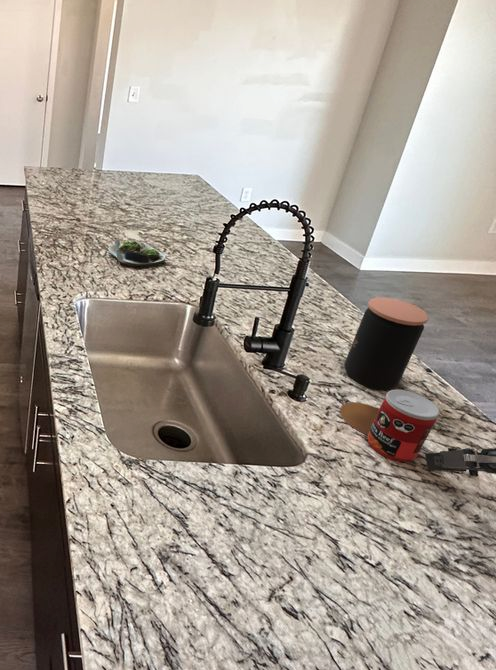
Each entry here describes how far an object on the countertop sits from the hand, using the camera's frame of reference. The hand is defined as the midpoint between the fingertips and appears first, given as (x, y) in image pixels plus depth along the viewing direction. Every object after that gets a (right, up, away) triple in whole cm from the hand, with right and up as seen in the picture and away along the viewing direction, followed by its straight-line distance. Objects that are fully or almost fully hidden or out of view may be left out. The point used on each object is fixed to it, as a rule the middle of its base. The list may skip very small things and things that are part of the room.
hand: (430, 461), depth 92 cm
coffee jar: (+11, +8, +30) cm, 33 cm away
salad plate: (-27, +36, +87) cm, 98 cm away
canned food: (+1, -1, +10) cm, 10 cm away
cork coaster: (+2, +2, +17) cm, 17 cm away
